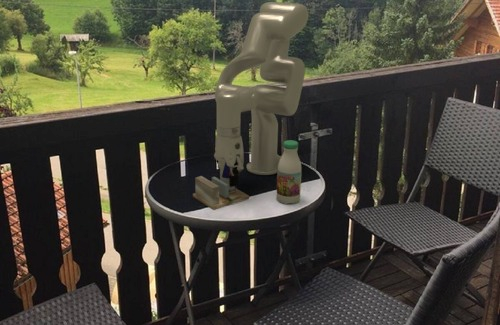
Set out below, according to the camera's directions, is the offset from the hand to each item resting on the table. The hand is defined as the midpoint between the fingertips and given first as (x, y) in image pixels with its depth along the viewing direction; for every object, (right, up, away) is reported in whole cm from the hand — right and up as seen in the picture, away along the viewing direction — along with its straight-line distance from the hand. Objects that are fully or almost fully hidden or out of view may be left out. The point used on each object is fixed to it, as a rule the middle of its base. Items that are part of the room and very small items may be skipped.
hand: (228, 182), depth 179 cm
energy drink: (0, -3, +1) cm, 3 cm away
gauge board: (-3, -5, -1) cm, 6 cm away
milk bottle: (+20, -6, 0) cm, 20 cm away
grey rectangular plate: (-2, -4, -2) cm, 5 cm away
